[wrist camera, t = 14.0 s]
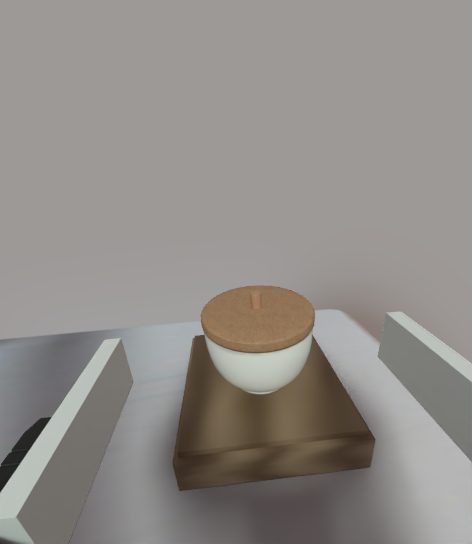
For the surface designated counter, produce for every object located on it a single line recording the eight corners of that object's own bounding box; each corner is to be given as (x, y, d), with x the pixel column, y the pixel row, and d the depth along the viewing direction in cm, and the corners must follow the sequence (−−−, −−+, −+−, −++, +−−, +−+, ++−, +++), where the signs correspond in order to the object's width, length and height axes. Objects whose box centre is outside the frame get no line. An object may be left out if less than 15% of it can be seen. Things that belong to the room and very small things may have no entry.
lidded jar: (259, 330, 33) (256, 265, 30) (332, 372, 25) (339, 290, 22) (191, 370, 27) (177, 294, 24) (259, 442, 19) (253, 343, 16)
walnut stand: (179, 490, 20) (171, 458, 19) (196, 358, 35) (192, 334, 34) (370, 467, 21) (376, 434, 19) (306, 346, 36) (307, 322, 34)
